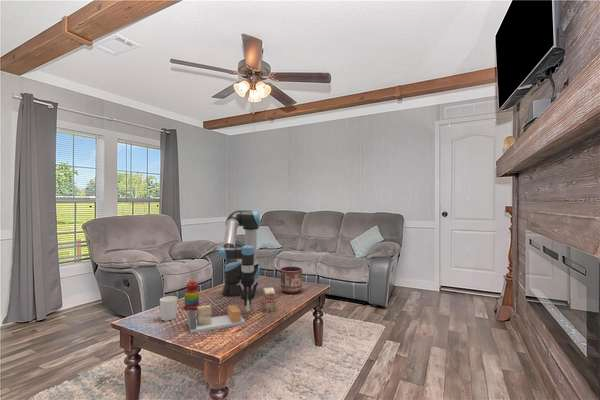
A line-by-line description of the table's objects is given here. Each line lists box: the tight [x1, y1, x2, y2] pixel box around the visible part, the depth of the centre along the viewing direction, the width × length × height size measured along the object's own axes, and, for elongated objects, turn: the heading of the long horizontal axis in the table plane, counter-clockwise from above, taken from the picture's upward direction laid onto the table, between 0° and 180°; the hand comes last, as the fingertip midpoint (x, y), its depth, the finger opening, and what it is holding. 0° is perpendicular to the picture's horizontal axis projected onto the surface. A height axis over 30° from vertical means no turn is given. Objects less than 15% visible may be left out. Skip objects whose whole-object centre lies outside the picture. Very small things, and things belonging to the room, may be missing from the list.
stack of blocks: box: [262, 287, 276, 313], centre depth 204 cm, size 21×6×12 cm, turn 10°
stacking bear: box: [183, 279, 202, 311], centre depth 201 cm, size 11×10×18 cm
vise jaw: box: [227, 303, 242, 323], centre depth 179 cm, size 12×5×6 cm, turn 25°
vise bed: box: [187, 310, 246, 334], centre depth 175 cm, size 14×30×8 cm, turn 115°
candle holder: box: [159, 295, 178, 322], centre depth 182 cm, size 10×10×12 cm
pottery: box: [279, 266, 303, 295], centre depth 237 cm, size 18×18×18 cm
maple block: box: [196, 304, 212, 326], centre depth 172 cm, size 5×7×9 cm
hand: (247, 310), depth 182 cm, fingers closed
